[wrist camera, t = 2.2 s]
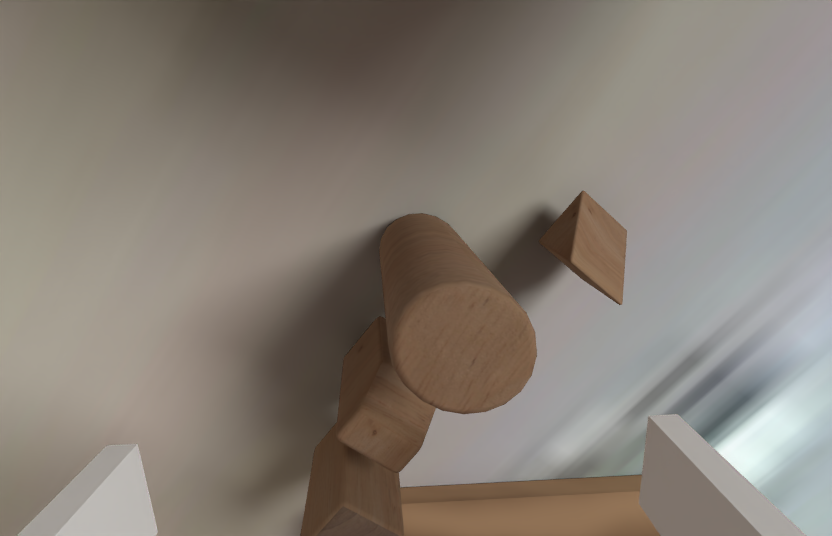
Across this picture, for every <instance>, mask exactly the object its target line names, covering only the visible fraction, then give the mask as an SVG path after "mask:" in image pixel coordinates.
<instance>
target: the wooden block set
mask: <svg viewBox="0 0 832 536" xmlns="http://www.w3.org/2000/svg"><path fill="white" fill-rule="evenodd" d="M626 238H627V230H626V229H624V228H623V227H622V226H621V225H620V224H619V223H618V222H617V221H616V220H615V219H614V218H613V217H612V216H611V215H609V214H608V213H607V212H606V211H605V210H604V209H603V208H602V207H601V206H600V205H599V204H598V203H597V202H595V201H594V200H593V199H592V198H591V197H590V196H589V195H588V194H587V193H586V192H585V191H582V192H581V193H580V194H579V195H578V196H577V197H576V199H575V200H574V201H573V202H572V203H571V204H570V205H569V207H568V208H567V209H566V210H565V211H564V212H563V213H562V215H561V216H560V217H559V218H558V219H557V220H556V221H555V223H554V224H553V225H552V226H551V227H550V228H549V229H548V231H547V232H546V233H545V234H544V235H543V236H542V238H541V239H540V240H539V243H540V244H541V245H543V246H544V247H545V248H546V249H547V250H548V251H550V252H551V253H552V254H553V255H554V256H555V257H557V258H558V259H559V260H560V261H561V262H563V263H564V264H565V265H566V266H567V267H568V268H570V269H571V270H572V271H573V272H574V273H575V274H577V275H578V276H579V277H580V278H581V279H583V280H584V281H586V282H587V283H588V284H590V285H591V286H593V287H594V288H596V289H597V290H599V291H600V292H602V293H603V294H604V295H606V296H607V297H609V298H610V299H612V300H613V301H615V302H616V303H617V304H619V305H622V300H623V284H624V269H625V253H626ZM379 254H380V265H381V275H382V285H383V296H384V306H385V316H386V319H385V318H384V317H381V316H379V317H378V318H376V319H375V320H374V322H373V323H372V324H371V325H370V327H369V328H368V329H367V330H366V331H365V333H364V334H363V335H362V336H361V337H360V339H359V340H358V341H357V342H356V344H355V345H354V346H353V347H352V348H351V350H350V351H349V352H348V353H347V354H346V356H345V357H344V360H343V370H342V379H341V389H340V399H339V408H338V418H337V423H336V424H335V425H334V426H333V427H332V429H331V430H330V431H329V432H328V433H327V435H326V436H325V437H324V438H323V439H322V440H321V442H320V443H319V444H318V445H317V446H316V447H315V451H314V457H313V463H312V469H311V475H310V481H309V487H308V493H307V499H306V505H305V511H304V517H303V523H302V529H301V535H300V536H404V525H403V514H402V503H401V492H400V482H399V472H400V471H401V470H402V469H403V468H404V467H405V466H406V465H407V464H408V462H409V461H410V460H411V459H412V458H413V457H414V456H415V455H416V454H417V452H418V451H419V450H420V448H421V446H422V444H423V441H424V439H425V436H426V433H427V431H428V428H429V425H430V422H431V420H432V417H433V414H434V412H435V409H436V408H438V409H440V410H443V411H448V412H455V413H461V414H469V413H479V412H486V411H489V410H491V409H494V408H496V407H499V406H501V405H504V404H506V403H507V402H508V401H509V400H511V399H512V398H513V397H514V396H516V395H517V394H518V393H519V392H521V390H522V389H523V387H524V386H525V384H526V383H527V381H528V380H529V378H530V377H531V375H532V372H533V368H534V364H535V360H536V357H537V349H536V337H535V331H534V329H533V327H532V324H531V322H530V320H529V318H528V316H527V313H526V312H525V311H524V310H523V309H522V307H521V306H520V305H519V304H518V303H517V302H516V301H515V299H514V298H513V297H512V296H511V295H510V294H509V292H508V291H507V290H506V289H505V288H504V287H503V286H502V284H501V283H500V282H499V281H498V280H497V279H496V278H495V276H494V275H493V274H492V273H491V272H490V271H489V270H488V268H487V267H486V266H485V265H484V264H483V263H482V262H481V260H480V259H479V258H478V257H477V256H476V255H475V254H474V252H473V251H472V250H471V249H470V248H469V247H468V245H467V244H466V243H465V242H464V241H463V240H462V239H461V237H460V236H459V235H458V234H457V233H456V232H455V231H454V230H453V229H452V228H451V226H450V225H449V224H448V223H446V222H444V221H442V220H441V219H439V218H437V217H435V216H431V215H427V214H423V213H421V214H408V215H406V216H403V217H401V218H399V219H396V220H395V221H394V222H393V223H392V224H391V225H390V226H388V227H387V229H386V231H385V232H384V234H383V236H382V238H381V242H380V249H379Z"/></svg>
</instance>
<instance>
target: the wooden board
mask: <svg viewBox="0 0 832 536" xmlns="http://www.w3.org/2000/svg"><path fill="white" fill-rule="evenodd" d="M641 479H642V475H631V476H612V477H594V478H575V479H556V480H537V481H519V482H500V483H481V484H462V485H444V486H425V487H406V488H400V492H401V503H402V514H403V525H404V536H661V535H660V534H659V532H658V531H657V530H656V528H655V527H654V525H653V524H652V522H651V521H650V519H649V518H648V516H647V515H646V513H645V512H644V511H643V509H642V508H641V506H640V505H639V496H640V488H641Z"/></svg>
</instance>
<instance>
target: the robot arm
mask: <svg viewBox="0 0 832 536" xmlns="http://www.w3.org/2000/svg"><path fill="white" fill-rule="evenodd" d="M639 505H640V506H641V508H642V509H643V511H644V512H645V513H646V515H647V516H648V518H649V519H650V521H651V522H652V524H653V525H654V527H655V528H656V530H657V531H658V532H659V534H660V535H661V536H806V535H805V534H804V533H803V532H802V531H801V530H800V529H799V528H798V527H797V526H796V525H795V524H793V523H792V522H791V521H790V520H789V519H788V518H787V517H786V516H785V515H784V514H783V513H782V512H781V511H780V510H779V509H778V508H776V507H775V506H774V505H773V504H772V503H771V502H770V501H769V500H768V499H767V498H766V497H765V496H764V495H763V494H762V493H761V492H759V491H758V490H757V489H756V488H755V487H754V486H753V485H752V484H751V483H750V482H749V481H748V480H747V479H746V478H745V477H744V476H742V475H741V474H740V473H739V472H738V471H737V470H736V469H735V468H734V467H733V466H732V465H731V464H730V463H729V462H728V461H727V460H725V459H724V458H723V457H722V456H721V455H720V454H719V453H718V452H717V451H716V450H715V449H714V448H713V447H712V446H711V445H710V444H708V443H707V442H706V441H705V440H704V439H703V438H702V437H701V436H700V435H699V434H698V433H697V432H696V431H695V430H694V429H693V428H691V427H690V426H689V425H688V424H687V423H686V422H685V421H684V420H683V419H682V418H681V417H680V416H679V415H678V414H674V415H655V416H648V425H647V434H646V443H645V452H644V461H643V470H642V479H641V488H640V496H639ZM157 533H158V530H157V526H156V521H155V517H154V513H153V508H152V504H151V500H150V495H149V491H148V487H147V482H146V478H145V474H144V469H143V465H142V461H141V456H140V452H139V448H138V444H123V445H107V446H106V447H105V448H104V449H103V450H102V451H101V452H100V453H99V454H98V455H97V456H96V457H95V458H94V459H93V460H92V461H91V462H90V463H89V464H88V465H87V466H86V467H85V468H84V469H83V470H82V471H81V472H80V473H79V474H78V475H77V476H76V477H75V478H74V479H73V480H72V481H71V482H70V483H69V484H68V485H67V486H66V487H65V488H64V489H63V490H62V491H61V492H60V493H59V494H58V495H57V496H56V497H55V498H54V499H53V500H52V501H51V502H50V503H49V504H48V505H47V506H46V507H45V508H44V509H43V510H42V511H41V512H40V513H39V514H38V515H37V516H36V517H35V518H34V519H33V520H32V521H31V522H30V523H29V524H28V525H27V526H26V527H25V528H24V529H23V530H22V531H21V532H20V533H19V534H18V535H17V536H156V535H157Z"/></svg>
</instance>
